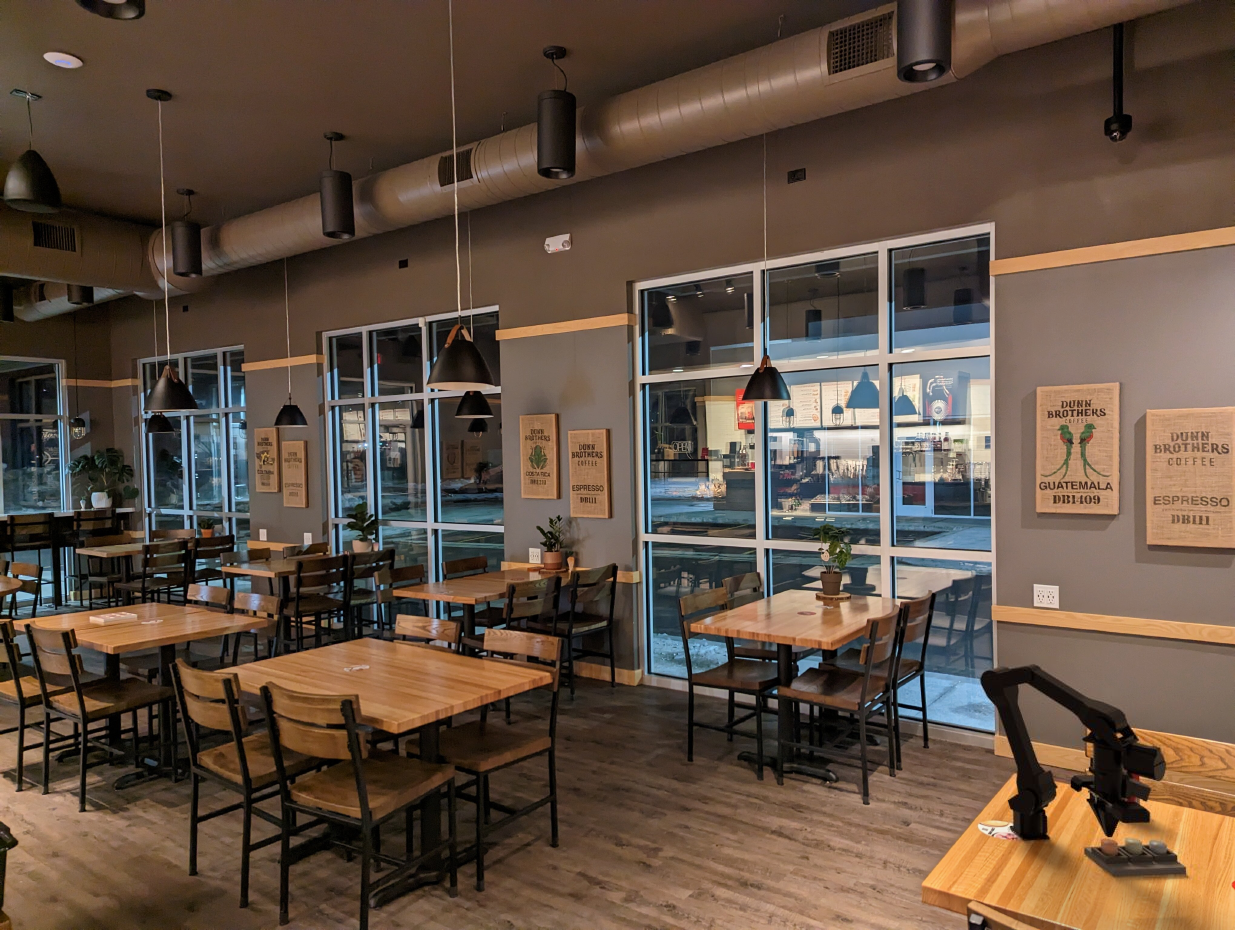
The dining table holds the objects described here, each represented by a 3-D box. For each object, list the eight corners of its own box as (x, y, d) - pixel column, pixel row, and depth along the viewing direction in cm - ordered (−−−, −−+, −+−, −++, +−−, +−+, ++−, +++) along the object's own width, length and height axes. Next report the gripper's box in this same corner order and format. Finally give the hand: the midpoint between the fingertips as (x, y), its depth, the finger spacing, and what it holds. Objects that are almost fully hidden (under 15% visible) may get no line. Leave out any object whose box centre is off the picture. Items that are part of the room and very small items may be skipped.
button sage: (1131, 854, 174) (1131, 844, 174) (1121, 847, 177) (1121, 837, 177) (1145, 854, 174) (1145, 844, 174) (1135, 847, 177) (1135, 837, 177)
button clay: (1107, 855, 174) (1107, 845, 174) (1097, 848, 177) (1097, 838, 177) (1121, 855, 174) (1121, 845, 174) (1111, 848, 177) (1111, 838, 177)
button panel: (1113, 877, 170) (1113, 864, 170) (1084, 853, 180) (1084, 841, 180) (1186, 874, 171) (1186, 861, 171) (1152, 851, 181) (1152, 838, 181)
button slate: (1156, 857, 174) (1156, 847, 174) (1145, 850, 177) (1145, 840, 177) (1170, 856, 174) (1170, 846, 174) (1159, 849, 178) (1159, 839, 178)
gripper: (1175, 782, 166) (1175, 856, 166) (1115, 749, 185) (1116, 816, 185) (1123, 784, 166) (1123, 858, 166) (1068, 750, 184) (1069, 817, 185)
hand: (1108, 836), depth 175 cm, fingers closed
